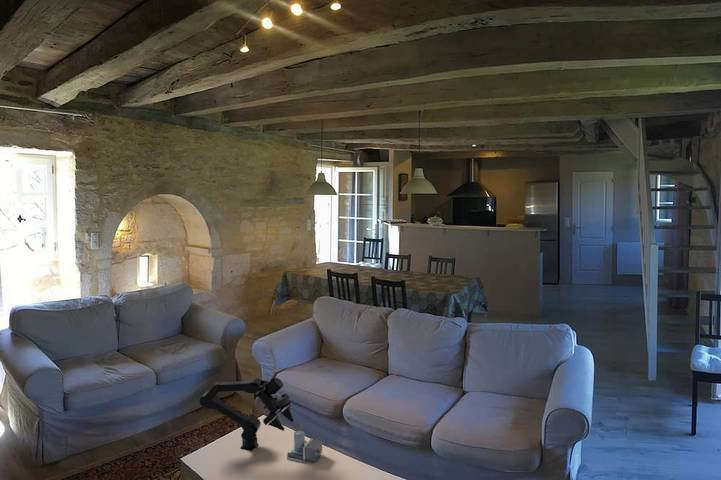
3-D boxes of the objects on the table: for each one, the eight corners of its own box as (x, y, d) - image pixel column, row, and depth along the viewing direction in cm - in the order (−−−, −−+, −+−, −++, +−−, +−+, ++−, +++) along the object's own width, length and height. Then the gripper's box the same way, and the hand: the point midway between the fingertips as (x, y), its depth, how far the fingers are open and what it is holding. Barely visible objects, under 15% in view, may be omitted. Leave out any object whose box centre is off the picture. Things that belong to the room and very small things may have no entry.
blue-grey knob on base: (290, 454, 232) (290, 434, 231) (296, 448, 238) (296, 428, 237) (303, 457, 230) (303, 437, 229) (308, 451, 236) (308, 431, 235)
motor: (286, 459, 230) (286, 444, 230) (297, 447, 241) (297, 434, 240) (316, 465, 225) (316, 451, 225) (325, 453, 236) (325, 439, 235)
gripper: (268, 398, 226) (290, 425, 224) (287, 383, 244) (307, 408, 241) (254, 412, 229) (275, 438, 227) (273, 396, 247) (293, 420, 244)
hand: (288, 425), depth 235 cm, fingers open, 9 cm apart
